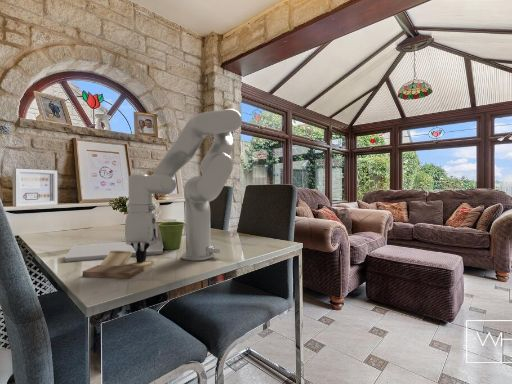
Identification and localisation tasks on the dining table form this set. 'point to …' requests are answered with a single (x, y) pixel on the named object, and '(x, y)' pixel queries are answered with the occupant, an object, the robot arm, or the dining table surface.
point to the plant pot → (171, 234)
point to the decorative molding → (107, 250)
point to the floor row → (112, 271)
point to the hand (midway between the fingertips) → (141, 261)
